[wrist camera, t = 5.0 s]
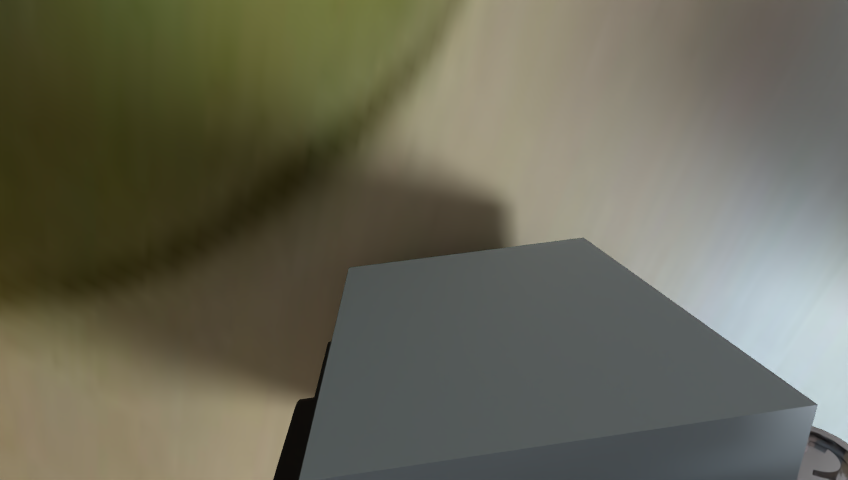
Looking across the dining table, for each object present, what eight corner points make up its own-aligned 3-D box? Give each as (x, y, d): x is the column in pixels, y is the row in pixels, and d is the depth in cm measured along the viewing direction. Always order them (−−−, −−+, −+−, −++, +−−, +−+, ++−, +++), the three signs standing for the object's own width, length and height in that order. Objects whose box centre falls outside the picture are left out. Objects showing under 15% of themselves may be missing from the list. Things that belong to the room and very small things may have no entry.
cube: (348, 267, 10) (298, 482, 4) (583, 237, 10) (818, 404, 5) (382, 451, 12) (376, 759, 6) (577, 422, 12) (737, 694, 7)
